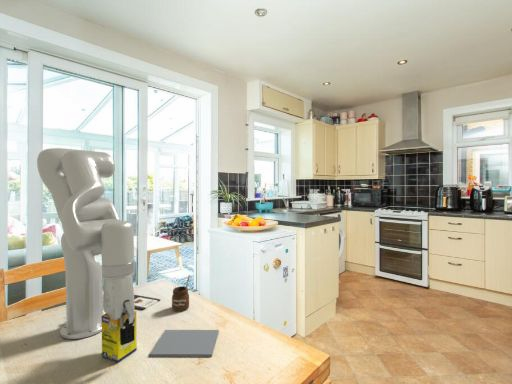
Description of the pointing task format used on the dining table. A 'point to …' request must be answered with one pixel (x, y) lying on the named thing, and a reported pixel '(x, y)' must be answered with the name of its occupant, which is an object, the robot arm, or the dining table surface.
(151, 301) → the chocolate bar
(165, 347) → the gray mat
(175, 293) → the utensil holder
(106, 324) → the supplement box
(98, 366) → the dining table surface
